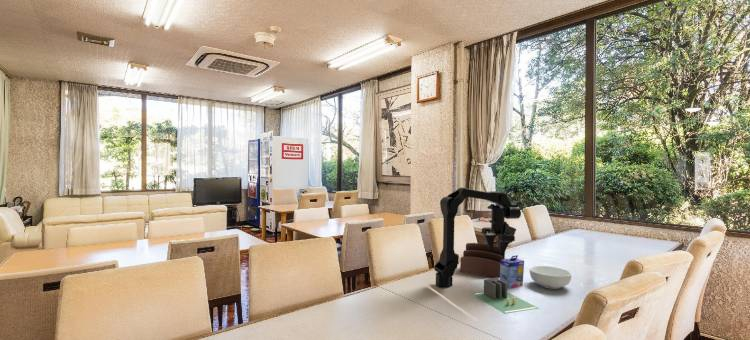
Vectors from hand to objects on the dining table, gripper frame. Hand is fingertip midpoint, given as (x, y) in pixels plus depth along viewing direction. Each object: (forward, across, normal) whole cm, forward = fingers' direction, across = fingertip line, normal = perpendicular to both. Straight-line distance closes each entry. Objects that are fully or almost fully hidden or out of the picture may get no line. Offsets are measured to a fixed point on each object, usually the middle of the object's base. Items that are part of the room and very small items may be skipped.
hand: (496, 252), depth 161 cm
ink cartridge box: (+14, -6, -4) cm, 16 cm away
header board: (+14, -22, +10) cm, 28 cm away
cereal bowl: (+14, -7, -23) cm, 28 cm away
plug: (+13, -17, +10) cm, 24 cm away
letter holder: (+14, +15, -2) cm, 21 cm away
